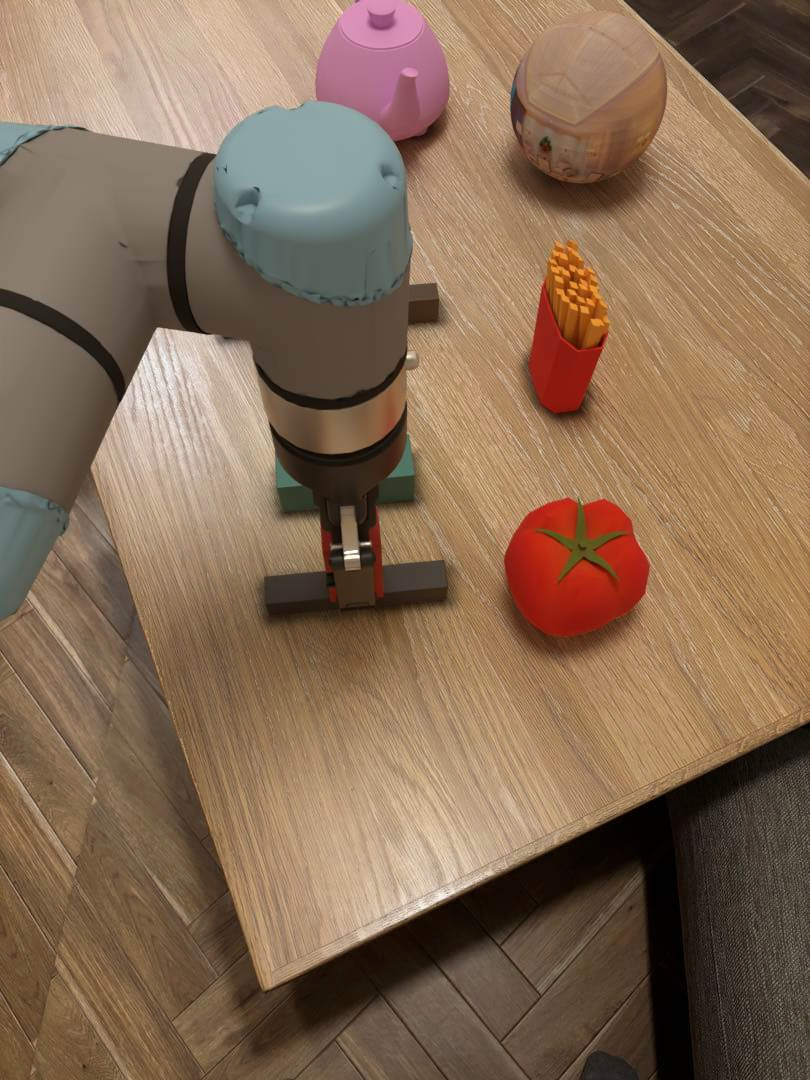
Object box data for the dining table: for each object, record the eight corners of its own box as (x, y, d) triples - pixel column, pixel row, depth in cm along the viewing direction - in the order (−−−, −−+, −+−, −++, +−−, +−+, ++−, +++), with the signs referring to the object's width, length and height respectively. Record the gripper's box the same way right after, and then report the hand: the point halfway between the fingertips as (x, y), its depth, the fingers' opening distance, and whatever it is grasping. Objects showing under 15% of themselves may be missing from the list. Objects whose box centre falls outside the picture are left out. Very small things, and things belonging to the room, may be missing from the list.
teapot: (475, 171, 91) (486, 61, 80) (344, 196, 89) (336, 87, 78) (421, 54, 99) (424, -60, 88) (301, 75, 97) (289, -39, 87)
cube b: (414, 500, 72) (415, 475, 69) (366, 504, 72) (364, 479, 69) (408, 459, 74) (409, 433, 71) (362, 464, 74) (360, 437, 70)
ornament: (614, 107, 95) (649, -35, 82) (666, 201, 89) (714, 63, 75) (484, 130, 93) (498, -12, 80) (528, 227, 87) (552, 90, 74)
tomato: (480, 624, 67) (490, 577, 60) (528, 511, 72) (544, 455, 64) (609, 677, 65) (638, 636, 58) (650, 558, 70) (682, 505, 62)
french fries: (592, 416, 76) (626, 316, 65) (545, 424, 76) (571, 324, 64) (563, 337, 80) (591, 228, 69) (519, 343, 80) (539, 235, 68)
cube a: (330, 508, 72) (327, 483, 68) (282, 512, 72) (276, 488, 68) (327, 467, 74) (323, 441, 70) (280, 471, 74) (274, 445, 70)
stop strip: (438, 321, 81) (439, 298, 79) (224, 338, 80) (218, 316, 77) (435, 305, 82) (436, 282, 79) (223, 322, 81) (217, 299, 78)
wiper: (447, 603, 68) (455, 539, 58) (269, 620, 67) (247, 558, 58) (442, 568, 69) (449, 500, 60) (267, 585, 69) (246, 519, 59)
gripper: (424, 527, 42) (415, 678, 63) (392, 282, 50) (393, 490, 71) (271, 541, 42) (313, 688, 63) (261, 291, 49) (301, 498, 70)
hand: (355, 583), depth 67 cm, fingers closed on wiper, 3 cm apart
